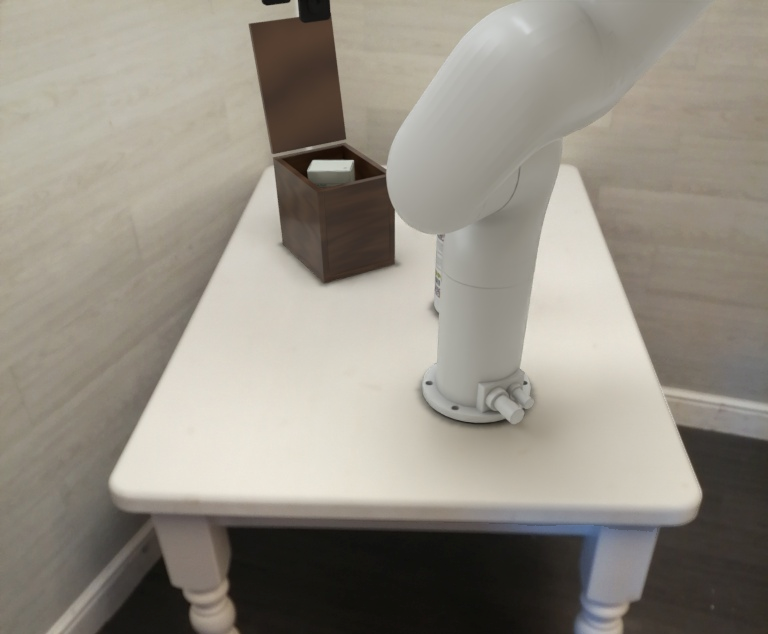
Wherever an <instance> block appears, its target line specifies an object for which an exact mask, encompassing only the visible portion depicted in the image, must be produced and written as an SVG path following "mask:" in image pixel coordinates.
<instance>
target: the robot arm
mask: <svg viewBox="0 0 768 634" xmlns="http://www.w3.org/2000/svg"><path fill="white" fill-rule="evenodd" d="M260 1H261V3H262V4H263V5H265V6H276V5H284V4H289V3H290V2H291V1H292V0H260ZM716 2H718V0H519V1H516V2H512V3H509V4H507V5H503V6H502V7H500V8H497V9H495V10H493V11H491V12H490V13H489V14H487V15H486V16H484V17H483V18H482V19H480V20H479V21H478V22H477V23H475V24H474V25H473V27H472V28H470V29H469V30H468V31H467V32H466V34H464V35H463V37H461V39H460V40H459V41H458V43H457V44H456V45H455V46H454V48H453V49H452V50H451V52H450V53H449V55H448V56H447V58H446V60H445V61H444V62H443V64H442V65H441V66H440V68H439V69H438V71H437V72H436V74H435V75H434V77H433V78H432V80H431V81H430V83H429V84H428V86H427V87H426V88H425V90H424V91H423V93H422V94H421V96H420V97H419V98H418V100H417V102H416V103H415V104H414V106H413V108H411V110H410V112H409V113H408V114H407V116H406V117H405V119H404V121H403V122H402V124H401V125H400V127H399V129H398V130H397V132H396V134H395V136H394V138H393V141H392V143H391V146H390V148H389V151H388V157H387V160H386V161H387V162H386V167H385V169H386V181H387V189H388V194H389V197H390V200H391V203H392V205H393V207H394V209H395V213H396V214H397V215H398V217H399V218H400V219H401V220H402V221H403V223H405V224H406V225H407V226H409V227H411V228H412V229H414V230H416V231H418V232H420V233H424V234H426V235H433V236H437V235H442V234H445V236H444V242H443V251H442V266H441V285H440V305H439V313H438V328H437V350H436V362H435V363H433V364H432V365H431V366H430V367H429V368H427V370H426V372H425V373H424V375H423V377H422V385H421V388H422V395H423V397H424V400H425V401H426V402H427V404H428V405H429V406H430V407H431V408H432V409H434V410H435V411H436V412H438V413H439V414H442V415H443V416H445V417H448V418H451V419H453V420H457V421H461V422H466V423H475V424H485V423H495V422H498V421H503V420H507V422H509V423H510V424H511V425H517V424H519V423H520V422H521V421H522V420H523V419H524V417H525V414H526V413H525V410H529V409H531V408H532V407H533V406H534V405H535V399H534V398H533V397H532V396H530V394H531V389H532V388H531V382H530V379H529V377H528V376H527V374H526V372H525V371H523V369H522V368H521V366H522V365H521V364H522V358H523V352H524V345H525V339H526V331H527V324H528V317H529V311H530V304H531V297H532V290H533V283H534V276H535V271H536V265H537V258H538V254H539V253H538V251H539V247H540V241H541V235H542V231H543V225H544V221H545V217H546V214H547V210H548V207H549V203H550V201H551V197H552V194H553V191H554V188H555V186H556V181H557V179H558V176H559V171H560V168H561V167H560V166H561V164H562V163H561V162H562V156H563V138H566V137H567V136H569V135H571V134H574V133H576V132H578V131H581V130H582V129H584V128H587V127H588V126H590V125H592V124H593V123H595V122H597V121H598V120H599V119H601V118H603V117H604V116H606V114H608V113H609V112H610V111H611V110H612V109H613V108H614V107H615V106H616V105H617V104H618V103H619V102H620V101H621V100H622V99H623V97H625V95H626V94H627V93H628V92H629V91H630V90H631V89H632V88H633V87H634V85H636V84H637V83H638V81H639V80H640V79H642V77H643V76H644V75H646V74H647V72H649V70H650V69H652V68H653V67H654V66H655V64H657V63H658V62H659V60H661V59H662V58H663V56H665V55H666V54H667V53H668V51H670V49H672V48H673V47H674V46H675V45H676V44H677V43H678V42H679V41H680V40H681V39H682V38H683V37H684V36H685V35H686V34H687V32H689V30H691V28H692V27H693V26H694V25H695V23H696V22H697V21H699V19H701V17H703V15H705V14H706V13H707V12H708V10H710V8H711V7H712V6H713V5H714V4H715V3H716ZM297 9H298V17H299V19H300V21H301V22H303V23H309V22H316V21H324V20H329V19H330V17H332V12H331V0H297ZM524 409H525V410H524Z"/></svg>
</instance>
